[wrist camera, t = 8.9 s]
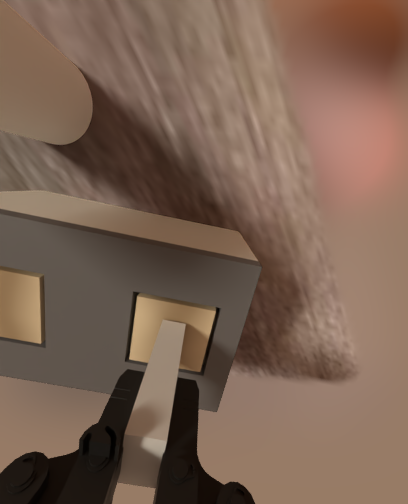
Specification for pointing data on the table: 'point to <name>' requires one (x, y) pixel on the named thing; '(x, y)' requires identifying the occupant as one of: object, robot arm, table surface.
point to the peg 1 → (22, 305)
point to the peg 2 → (163, 308)
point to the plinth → (119, 287)
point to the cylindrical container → (39, 85)
